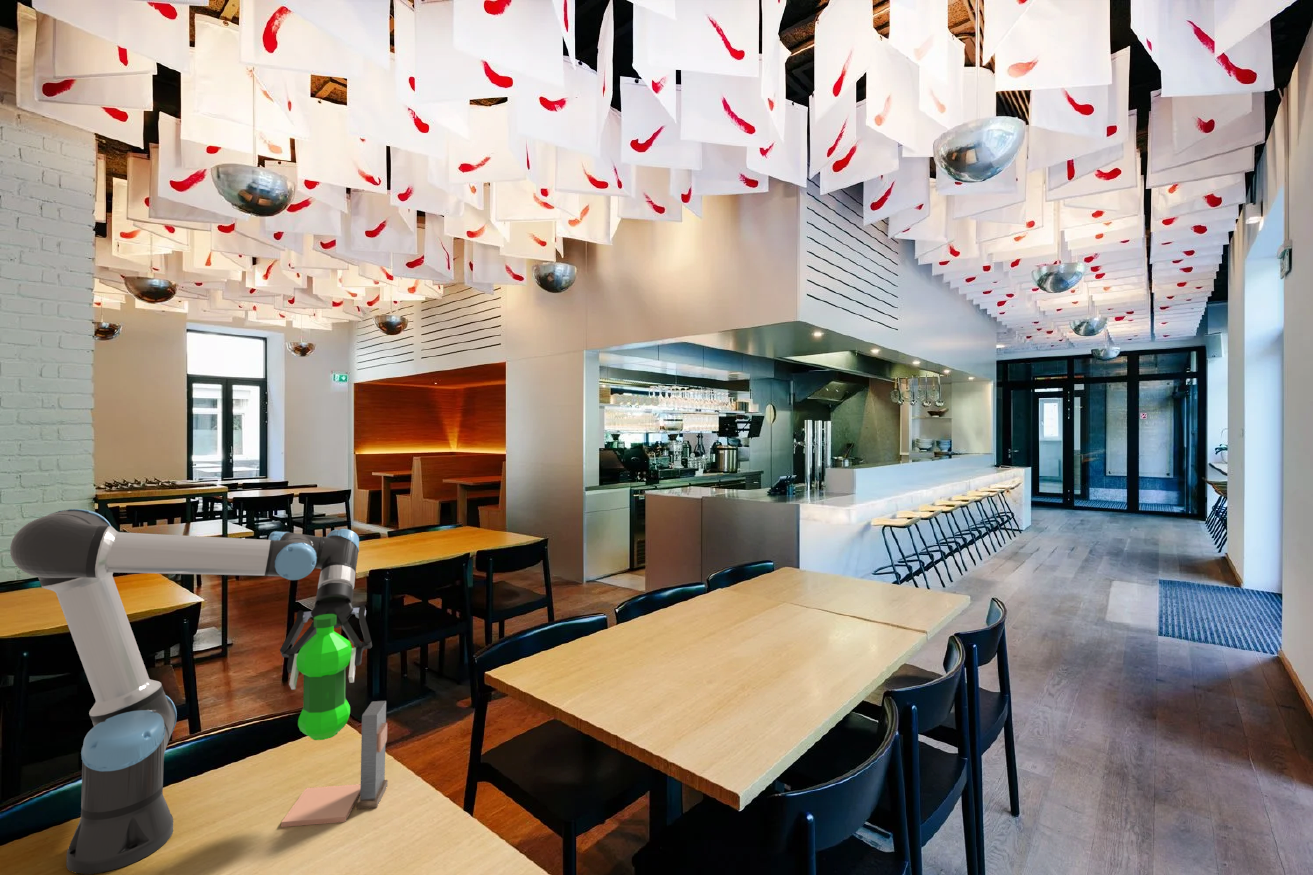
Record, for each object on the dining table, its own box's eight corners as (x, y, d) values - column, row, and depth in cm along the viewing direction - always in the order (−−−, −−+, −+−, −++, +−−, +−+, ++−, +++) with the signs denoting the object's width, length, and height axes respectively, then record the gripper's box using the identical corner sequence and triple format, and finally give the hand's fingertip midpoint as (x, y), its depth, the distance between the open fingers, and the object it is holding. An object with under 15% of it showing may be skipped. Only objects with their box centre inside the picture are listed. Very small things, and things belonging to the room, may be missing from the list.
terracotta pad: (281, 826, 120) (281, 821, 120) (305, 792, 132) (306, 787, 132) (345, 821, 122) (345, 816, 122) (363, 788, 134) (363, 783, 134)
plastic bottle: (292, 750, 120) (293, 626, 120) (302, 726, 130) (303, 612, 130) (347, 741, 124) (348, 621, 124) (353, 719, 134) (354, 607, 134)
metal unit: (356, 809, 126) (358, 716, 126) (368, 787, 134) (370, 700, 134) (377, 807, 127) (379, 715, 127) (387, 786, 135) (389, 699, 135)
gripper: (389, 594, 145) (383, 683, 130) (282, 602, 138) (262, 698, 123) (387, 577, 140) (380, 668, 126) (276, 584, 133) (254, 682, 118)
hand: (322, 683), depth 124 cm, fingers closed on plastic bottle, 10 cm apart
